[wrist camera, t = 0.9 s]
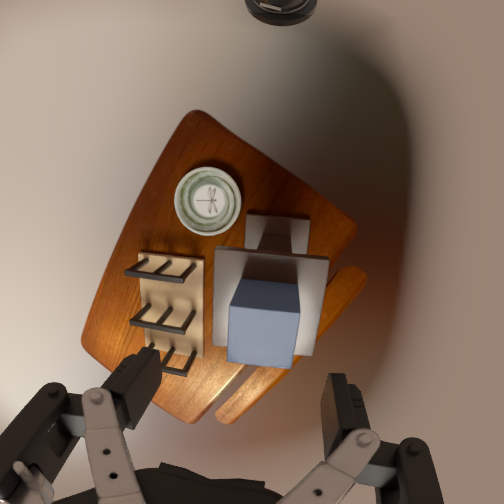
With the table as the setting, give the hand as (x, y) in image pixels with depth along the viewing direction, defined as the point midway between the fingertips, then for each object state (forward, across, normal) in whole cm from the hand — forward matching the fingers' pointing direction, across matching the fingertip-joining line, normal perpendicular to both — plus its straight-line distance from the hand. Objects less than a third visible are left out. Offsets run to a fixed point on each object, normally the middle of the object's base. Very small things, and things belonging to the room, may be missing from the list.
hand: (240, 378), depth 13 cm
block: (+11, -1, +2) cm, 11 cm away
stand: (+31, -1, +1) cm, 31 cm away
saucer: (+31, +9, -5) cm, 33 cm away
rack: (+31, +15, +13) cm, 37 cm away
